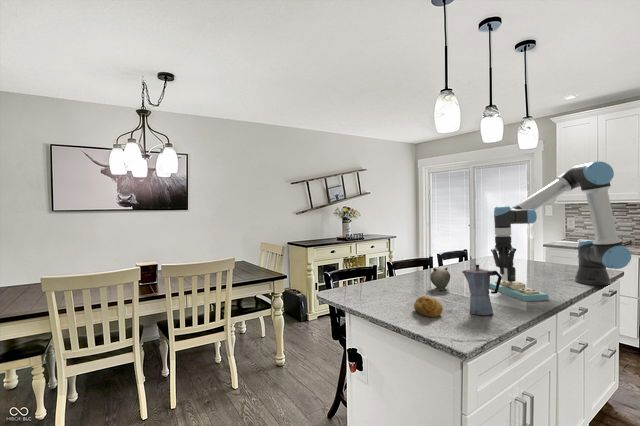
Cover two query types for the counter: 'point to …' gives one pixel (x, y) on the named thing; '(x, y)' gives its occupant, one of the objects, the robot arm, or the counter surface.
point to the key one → (502, 283)
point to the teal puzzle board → (520, 295)
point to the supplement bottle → (511, 274)
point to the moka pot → (481, 290)
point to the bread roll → (428, 306)
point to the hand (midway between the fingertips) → (504, 280)
